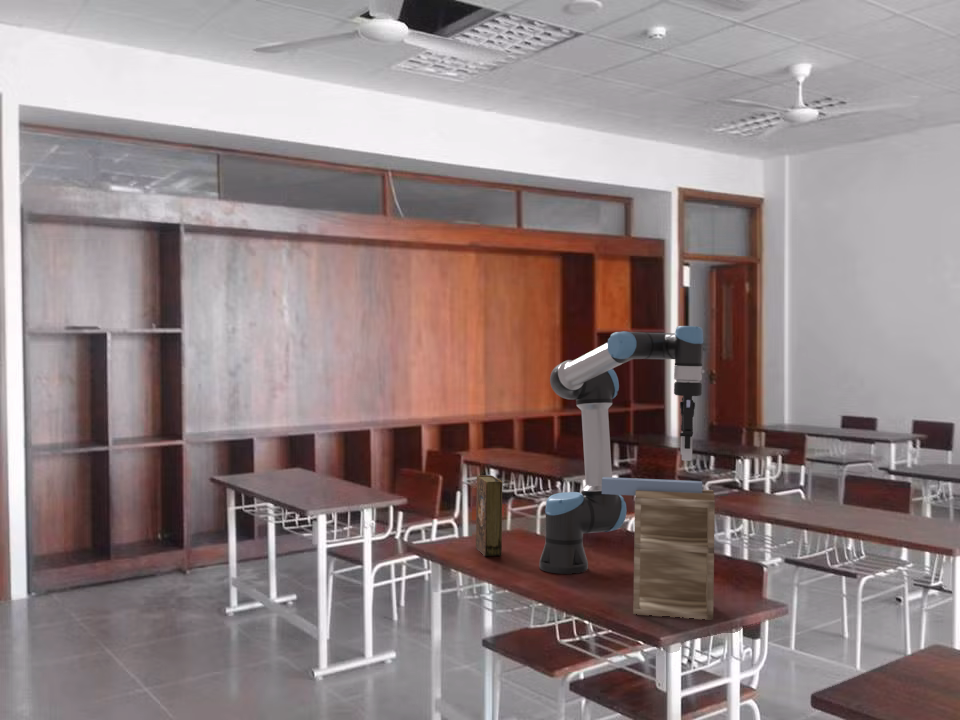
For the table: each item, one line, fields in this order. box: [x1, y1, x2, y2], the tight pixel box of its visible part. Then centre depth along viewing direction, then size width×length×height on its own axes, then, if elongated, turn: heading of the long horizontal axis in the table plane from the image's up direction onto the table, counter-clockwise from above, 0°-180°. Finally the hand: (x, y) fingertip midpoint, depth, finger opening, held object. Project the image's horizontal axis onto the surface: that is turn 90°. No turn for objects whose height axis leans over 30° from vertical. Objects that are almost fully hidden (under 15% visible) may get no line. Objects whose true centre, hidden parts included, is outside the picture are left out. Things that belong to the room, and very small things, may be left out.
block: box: [602, 476, 703, 497], centre depth 237 cm, size 4×26×4 cm, turn 77°
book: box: [475, 474, 503, 557], centre depth 303 cm, size 16×6×25 cm, turn 12°
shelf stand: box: [632, 489, 716, 621], centre depth 236 cm, size 14×20×32 cm
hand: (686, 457), depth 249 cm, fingers open, 13 cm apart
